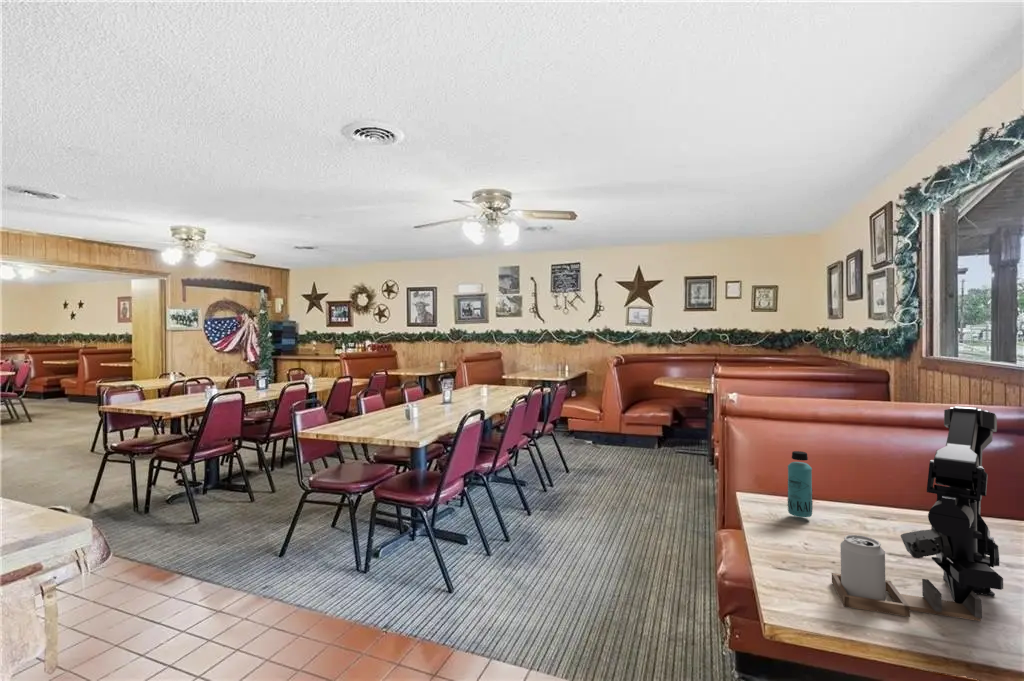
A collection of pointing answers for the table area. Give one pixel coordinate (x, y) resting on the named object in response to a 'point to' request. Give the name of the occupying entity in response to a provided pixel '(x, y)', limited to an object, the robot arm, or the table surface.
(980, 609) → the wooden frame
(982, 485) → the robot arm
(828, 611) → the table surface
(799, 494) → the beverage bottle
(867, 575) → the can
